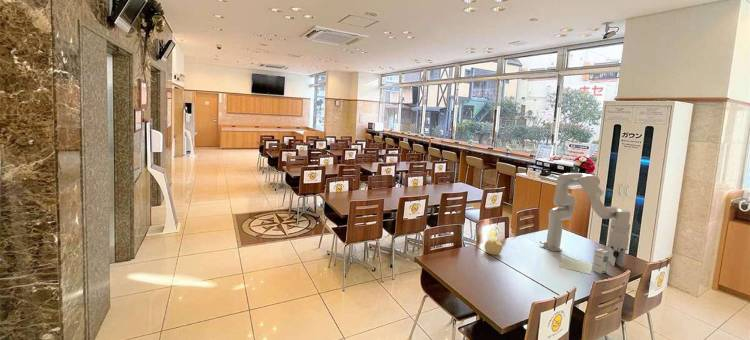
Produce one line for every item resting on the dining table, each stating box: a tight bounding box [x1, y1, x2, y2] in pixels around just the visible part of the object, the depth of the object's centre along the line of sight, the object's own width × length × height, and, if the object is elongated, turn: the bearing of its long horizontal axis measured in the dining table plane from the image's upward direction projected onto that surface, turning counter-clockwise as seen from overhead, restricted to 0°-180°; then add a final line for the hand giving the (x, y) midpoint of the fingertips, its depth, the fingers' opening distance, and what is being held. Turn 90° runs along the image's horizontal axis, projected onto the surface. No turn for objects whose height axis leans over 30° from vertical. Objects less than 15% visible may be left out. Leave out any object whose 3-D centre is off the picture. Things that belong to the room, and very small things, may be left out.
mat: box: [559, 257, 593, 275], centre depth 241 cm, size 18×20×1 cm
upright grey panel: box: [606, 218, 631, 268], centre depth 248 cm, size 14×6×30 cm, turn 168°
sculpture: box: [484, 238, 503, 256], centre depth 254 cm, size 11×12×11 cm
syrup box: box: [592, 248, 609, 274], centre depth 233 cm, size 6×6×14 cm
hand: (615, 257), depth 228 cm, fingers closed
